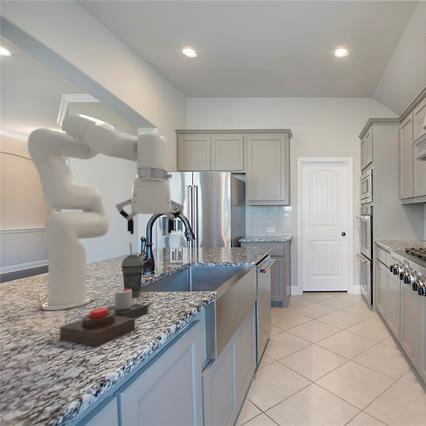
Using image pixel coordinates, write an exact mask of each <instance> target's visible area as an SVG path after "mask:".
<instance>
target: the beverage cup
mask: <svg viewBox="0 0 426 426" xmlns="http://www.w3.org/2000/svg"><path fill="white" fill-rule="evenodd" d="M129 252H130V254H129V255H127V256H126V257H125V258H123V260H122V263H121V266H120V268H121V272H122V277H123V279H122V281H123V290H124V289H128V288H131V290H132V299H134V298H138V297H140V295H141V294H140V293H141V289H142V279H143V271H144V267H145V262H144V260H143V258H142V257H141V256H140V255H138V254H133V249H132V243H131V242H129Z"/></svg>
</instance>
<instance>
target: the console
mask: <svg viewBox="0 0 426 426" xmlns="http://www.w3.org/2000/svg"><path fill="white" fill-rule="evenodd" d="M106 308H108V311H113V312H115V315H116V316H123V317H129V318H135V319H136V318H138V317H141V316H144V315H146V314H148V313H149V305H148V304H142V303H137V302H134V303H133V302H132V307H130V308H127V309H122V310H117V309H115V304H114V305H110V306H107V307H106Z"/></svg>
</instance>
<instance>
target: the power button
mask: <svg viewBox="0 0 426 426" xmlns="http://www.w3.org/2000/svg"><path fill="white" fill-rule="evenodd" d="M89 314H90V318H100V317H105V316H107V315H108V308H107V307H97V308H94V309H92V310H90V311H89Z"/></svg>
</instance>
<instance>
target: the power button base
mask: <svg viewBox="0 0 426 426" xmlns="http://www.w3.org/2000/svg"><path fill="white" fill-rule="evenodd" d="M135 324H136V318H129V317H123V316H116V315H115V312H113V311H108V315H107V316H105V317H100V318H90V313H88V314H86V315H84V316H82V318H81V319H80V320H77V321H74V322H72V323H68V324H65V325H62V326H59V340H60V341H63V342H64V341H65V342H68V343H74V344H79V345H85V346H89V347H95V348H96V347H99V346H100V345H103V344H106V343H107V342H110V341H111V340H115V339H117V338H119V337H121V336H125V335H126V334H129V333H131V332H134V331H135V330H136V325H135Z"/></svg>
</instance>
